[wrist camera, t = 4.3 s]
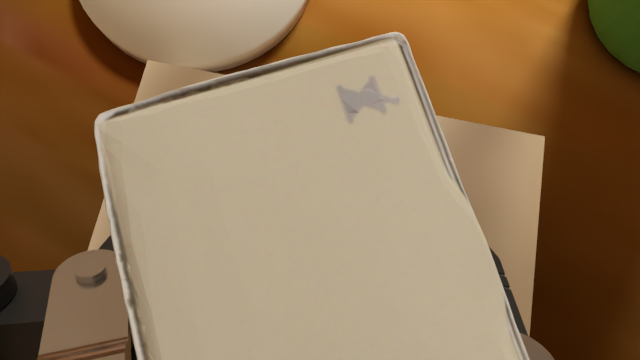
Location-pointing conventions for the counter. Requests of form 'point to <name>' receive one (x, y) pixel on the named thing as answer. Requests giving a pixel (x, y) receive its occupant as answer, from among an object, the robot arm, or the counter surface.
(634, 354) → the counter surface
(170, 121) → the skincare box
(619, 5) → the wine bottle
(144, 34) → the dish
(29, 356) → the robot arm
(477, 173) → the beige flat frame
